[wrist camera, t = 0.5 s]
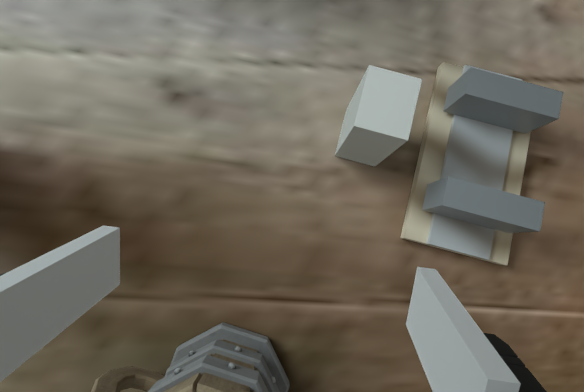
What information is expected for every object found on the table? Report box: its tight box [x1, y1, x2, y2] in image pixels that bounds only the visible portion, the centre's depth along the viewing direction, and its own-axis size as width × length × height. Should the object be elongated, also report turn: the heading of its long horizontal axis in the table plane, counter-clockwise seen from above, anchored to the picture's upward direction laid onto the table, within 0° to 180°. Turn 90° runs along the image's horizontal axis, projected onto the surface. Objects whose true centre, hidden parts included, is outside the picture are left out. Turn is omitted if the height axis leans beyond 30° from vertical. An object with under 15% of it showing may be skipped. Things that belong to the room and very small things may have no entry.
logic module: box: [335, 65, 422, 167], centre depth 38 cm, size 6×5×11 cm
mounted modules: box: [422, 67, 563, 233], centre depth 38 cm, size 15×10×5 cm, turn 165°
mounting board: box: [401, 62, 531, 265], centre depth 42 cm, size 22×12×2 cm, turn 165°
